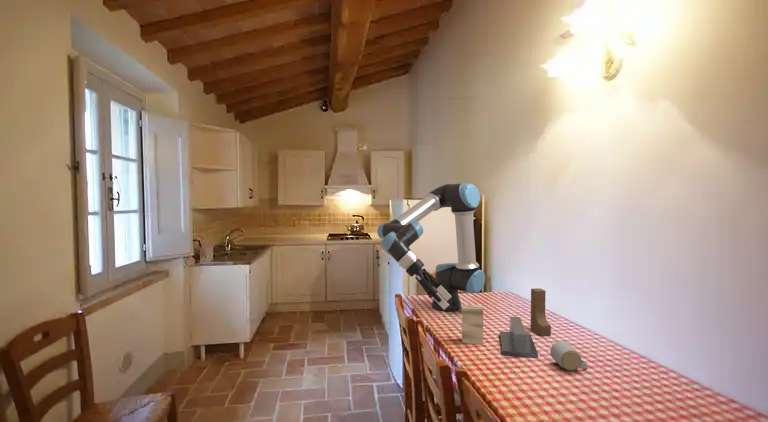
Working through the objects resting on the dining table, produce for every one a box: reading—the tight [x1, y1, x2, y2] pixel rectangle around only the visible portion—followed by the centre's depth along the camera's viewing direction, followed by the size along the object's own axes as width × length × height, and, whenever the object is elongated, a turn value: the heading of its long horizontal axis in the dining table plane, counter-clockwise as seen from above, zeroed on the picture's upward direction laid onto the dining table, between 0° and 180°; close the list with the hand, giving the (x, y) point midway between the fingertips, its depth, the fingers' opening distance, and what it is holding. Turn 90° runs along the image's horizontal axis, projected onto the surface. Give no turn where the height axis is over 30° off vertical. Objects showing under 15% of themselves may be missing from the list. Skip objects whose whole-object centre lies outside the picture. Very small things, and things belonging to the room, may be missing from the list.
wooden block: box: [530, 287, 552, 337], centre depth 167 cm, size 9×4×18 cm, turn 7°
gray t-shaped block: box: [499, 316, 539, 359], centre depth 152 cm, size 22×12×8 cm, turn 166°
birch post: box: [461, 304, 484, 346], centre depth 156 cm, size 5×8×14 cm, turn 76°
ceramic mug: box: [550, 340, 588, 371], centre depth 133 cm, size 11×8×8 cm
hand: (448, 303), depth 158 cm, fingers open, 13 cm apart
